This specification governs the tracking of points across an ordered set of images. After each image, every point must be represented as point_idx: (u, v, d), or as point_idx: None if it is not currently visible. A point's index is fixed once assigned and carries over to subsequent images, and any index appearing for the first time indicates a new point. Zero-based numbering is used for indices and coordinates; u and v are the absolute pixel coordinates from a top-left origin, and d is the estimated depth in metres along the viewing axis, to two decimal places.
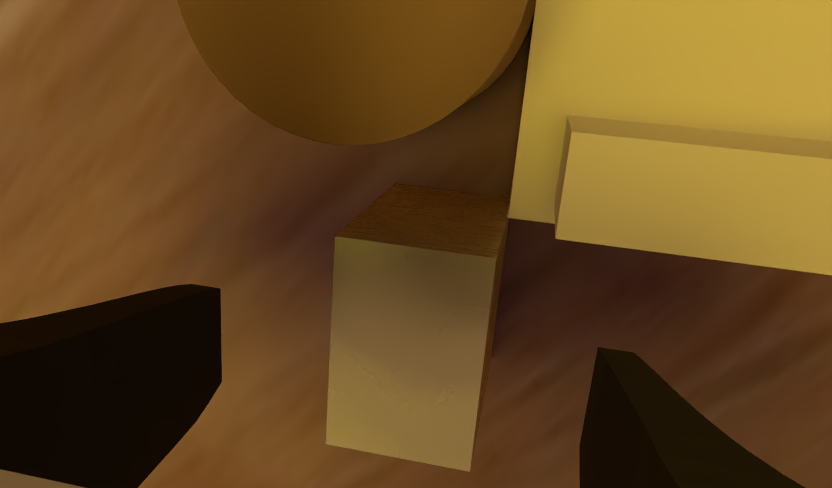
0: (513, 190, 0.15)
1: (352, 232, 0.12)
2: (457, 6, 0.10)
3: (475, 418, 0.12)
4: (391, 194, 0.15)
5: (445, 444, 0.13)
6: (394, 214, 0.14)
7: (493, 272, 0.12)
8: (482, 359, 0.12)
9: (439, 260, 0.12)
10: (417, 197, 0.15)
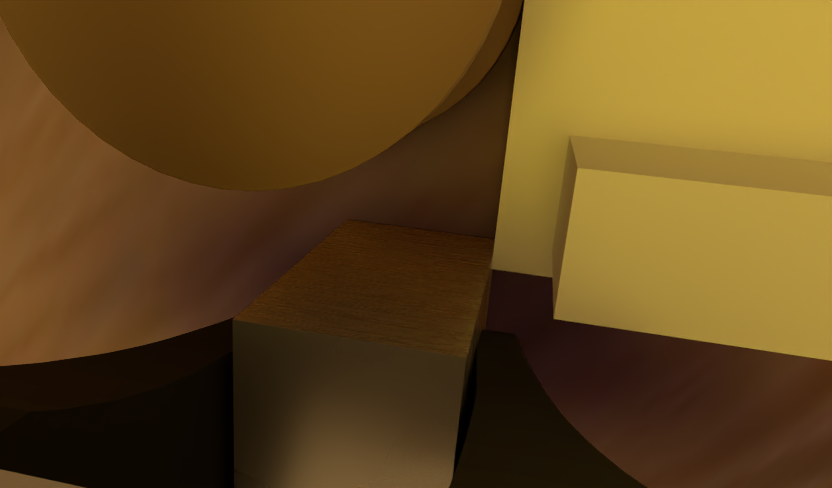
0: (497, 233, 0.11)
1: (262, 310, 0.09)
2: None
3: None
4: (336, 238, 0.12)
5: None
6: (333, 272, 0.10)
7: (462, 376, 0.08)
8: None
9: (384, 355, 0.08)
10: (371, 242, 0.12)
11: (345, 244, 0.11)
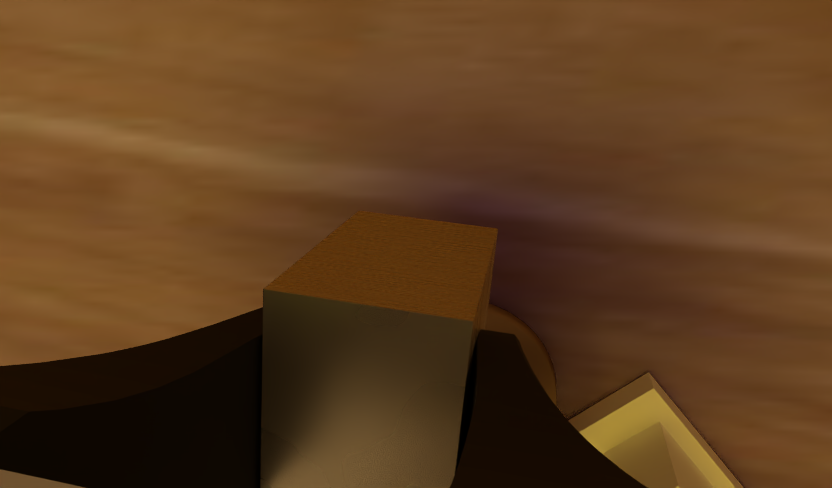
0: None
1: (288, 282, 0.09)
2: None
3: None
4: (351, 226, 0.13)
5: None
6: (349, 253, 0.11)
7: (469, 339, 0.09)
8: (456, 449, 0.09)
9: (399, 321, 0.09)
10: (382, 229, 0.13)
11: (359, 231, 0.12)
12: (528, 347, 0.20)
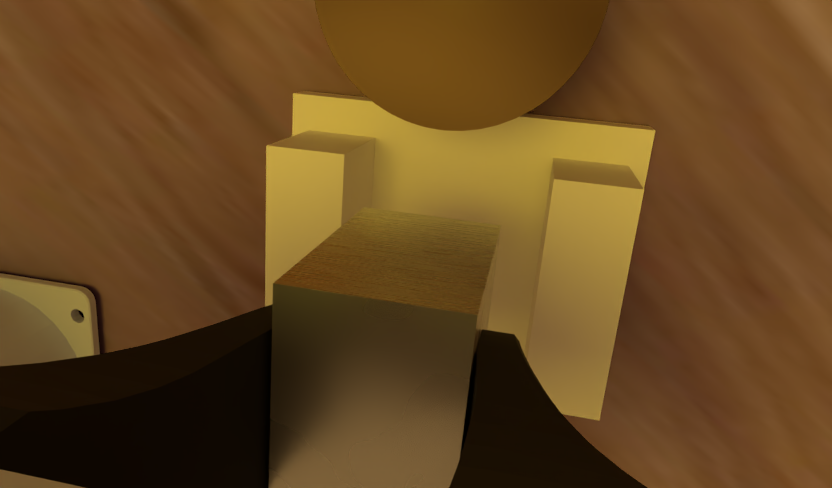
0: (315, 96, 0.18)
1: (297, 277, 0.10)
2: (418, 75, 0.13)
3: None
4: (356, 222, 0.13)
5: None
6: (355, 249, 0.11)
7: (473, 332, 0.09)
8: (460, 439, 0.10)
9: (405, 314, 0.09)
10: (387, 225, 0.13)
11: (364, 227, 0.13)
12: None
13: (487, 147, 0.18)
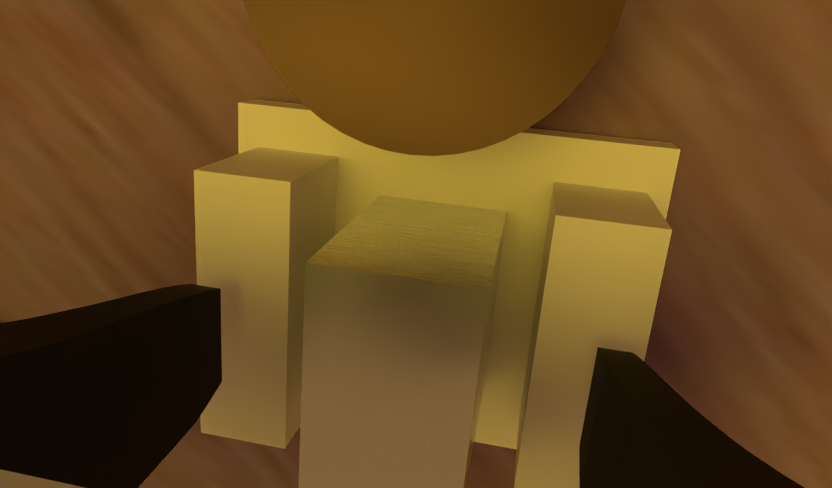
0: (264, 107, 0.15)
1: (326, 257, 0.11)
2: (377, 83, 0.10)
3: (464, 466, 0.11)
4: (374, 208, 0.14)
5: None
6: (375, 233, 0.12)
7: (485, 304, 0.10)
8: (472, 401, 0.11)
9: (424, 289, 0.10)
10: (403, 212, 0.14)
11: (382, 213, 0.14)
12: None
13: (473, 169, 0.15)
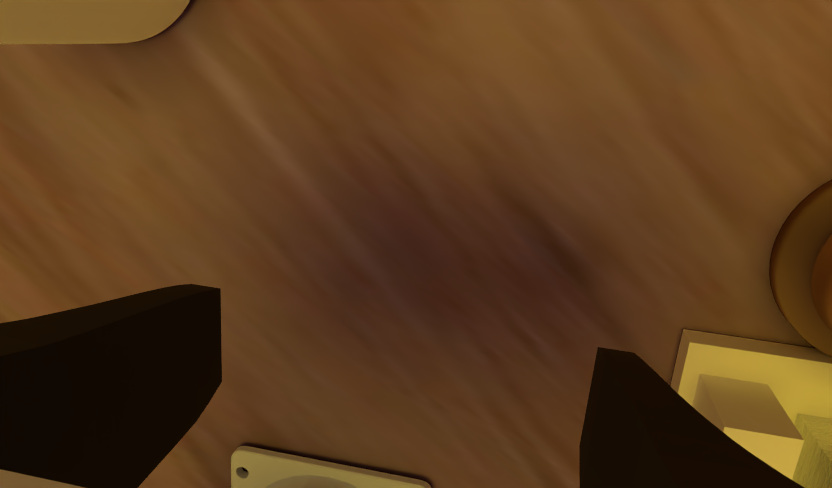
0: (712, 346, 0.20)
1: None
2: None
3: None
4: (821, 437, 0.19)
5: None
6: None
7: None
8: None
9: None
10: None
11: None
12: None
13: None
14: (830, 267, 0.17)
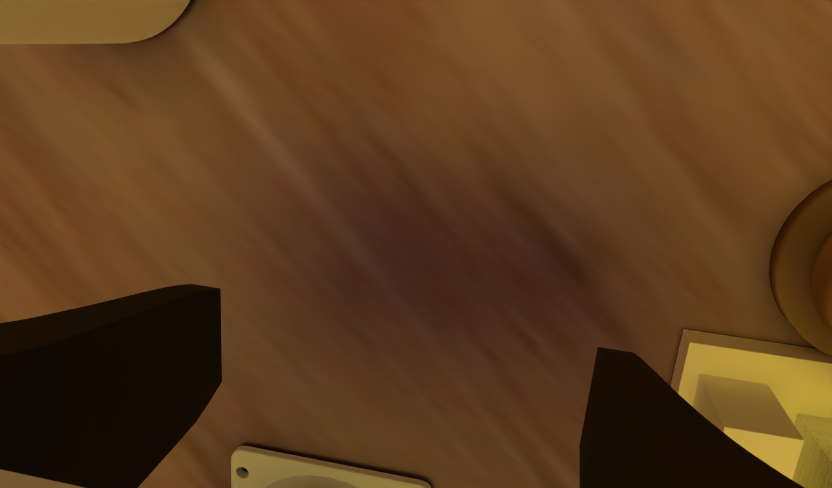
0: (712, 346, 0.20)
1: None
2: None
3: None
4: (821, 437, 0.19)
5: None
6: None
7: None
8: None
9: None
10: None
11: None
12: None
13: None
14: (830, 267, 0.17)
